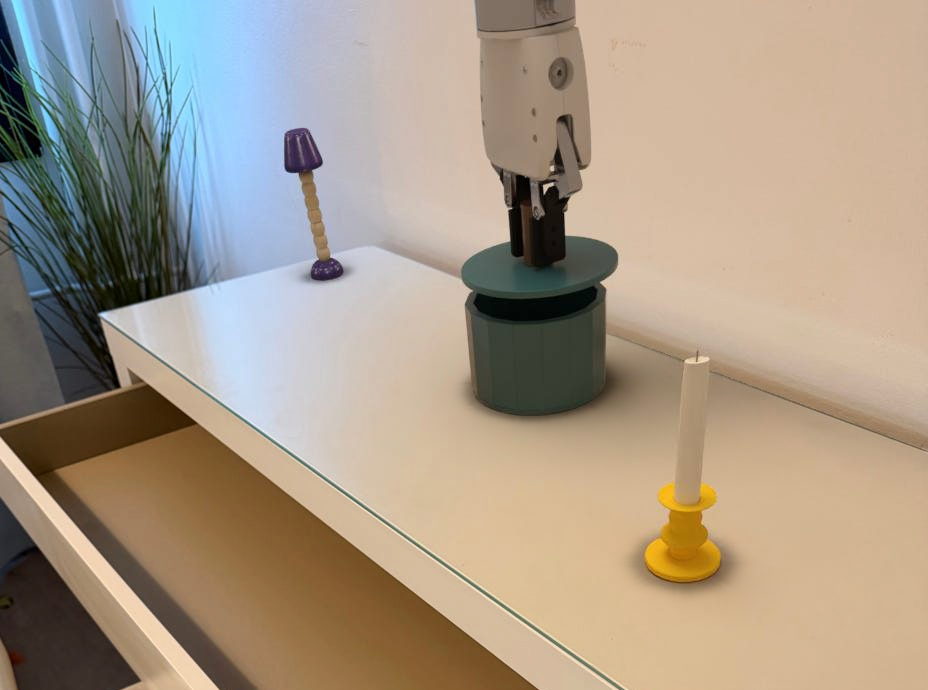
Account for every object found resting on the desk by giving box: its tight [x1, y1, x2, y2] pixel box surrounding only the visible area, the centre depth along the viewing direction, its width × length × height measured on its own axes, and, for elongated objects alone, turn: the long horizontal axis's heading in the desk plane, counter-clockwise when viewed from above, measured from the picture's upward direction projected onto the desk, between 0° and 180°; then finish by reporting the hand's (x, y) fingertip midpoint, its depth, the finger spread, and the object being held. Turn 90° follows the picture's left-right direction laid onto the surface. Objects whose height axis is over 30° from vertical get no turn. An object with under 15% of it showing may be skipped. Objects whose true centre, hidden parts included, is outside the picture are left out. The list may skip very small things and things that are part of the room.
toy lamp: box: [283, 127, 344, 281], centre depth 114 cm, size 5×5×17 cm
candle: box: [644, 349, 722, 583], centre depth 61 cm, size 5×5×16 cm
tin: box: [464, 282, 608, 416], centre depth 86 cm, size 13×13×8 cm
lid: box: [460, 198, 619, 299], centre depth 81 cm, size 14×14×6 cm
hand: (538, 255), depth 81 cm, fingers closed on lid, 2 cm apart
